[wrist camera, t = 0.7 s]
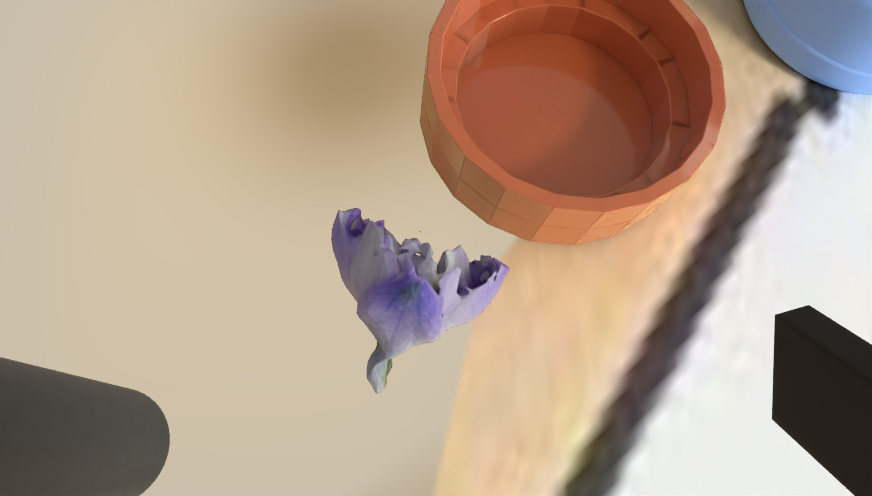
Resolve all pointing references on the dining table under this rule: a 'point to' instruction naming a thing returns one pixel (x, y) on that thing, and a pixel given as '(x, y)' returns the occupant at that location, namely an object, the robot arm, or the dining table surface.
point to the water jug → (820, 39)
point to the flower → (407, 287)
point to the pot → (569, 110)
